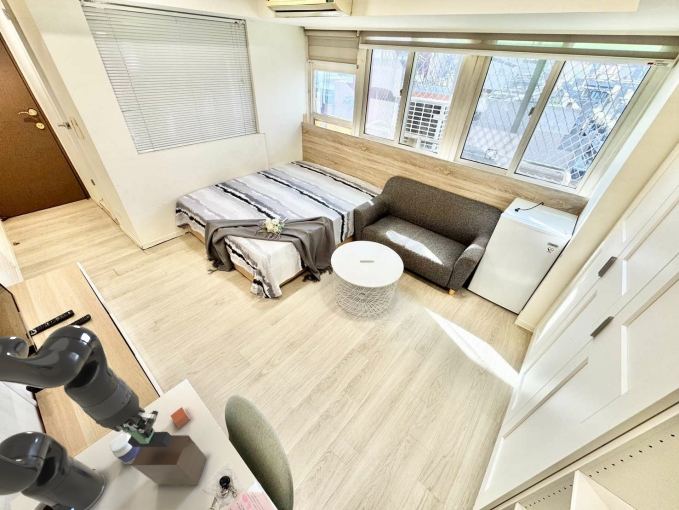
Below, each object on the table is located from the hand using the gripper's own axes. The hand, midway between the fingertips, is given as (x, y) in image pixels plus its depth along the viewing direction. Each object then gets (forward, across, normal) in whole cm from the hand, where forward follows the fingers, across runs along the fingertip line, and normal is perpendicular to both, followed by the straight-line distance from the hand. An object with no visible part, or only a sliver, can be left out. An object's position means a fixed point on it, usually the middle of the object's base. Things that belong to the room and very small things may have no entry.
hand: (144, 433), depth 67 cm
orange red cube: (+29, -7, +15) cm, 33 cm away
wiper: (+5, 0, 0) cm, 5 cm away
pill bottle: (+29, -18, +5) cm, 35 cm away
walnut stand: (+29, 0, 0) cm, 29 cm away
